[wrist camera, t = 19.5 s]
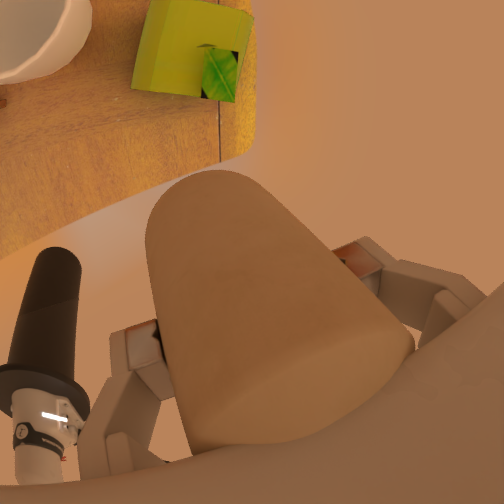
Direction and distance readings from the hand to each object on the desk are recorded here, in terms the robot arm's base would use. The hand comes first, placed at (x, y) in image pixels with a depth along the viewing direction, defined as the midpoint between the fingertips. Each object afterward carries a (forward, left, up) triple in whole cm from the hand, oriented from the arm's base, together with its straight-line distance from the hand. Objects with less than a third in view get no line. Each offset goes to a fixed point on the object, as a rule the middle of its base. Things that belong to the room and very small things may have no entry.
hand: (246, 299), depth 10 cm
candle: (0, 0, -4) cm, 4 cm away
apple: (+8, -5, -35) cm, 36 cm away
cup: (+14, +9, -35) cm, 39 cm away
